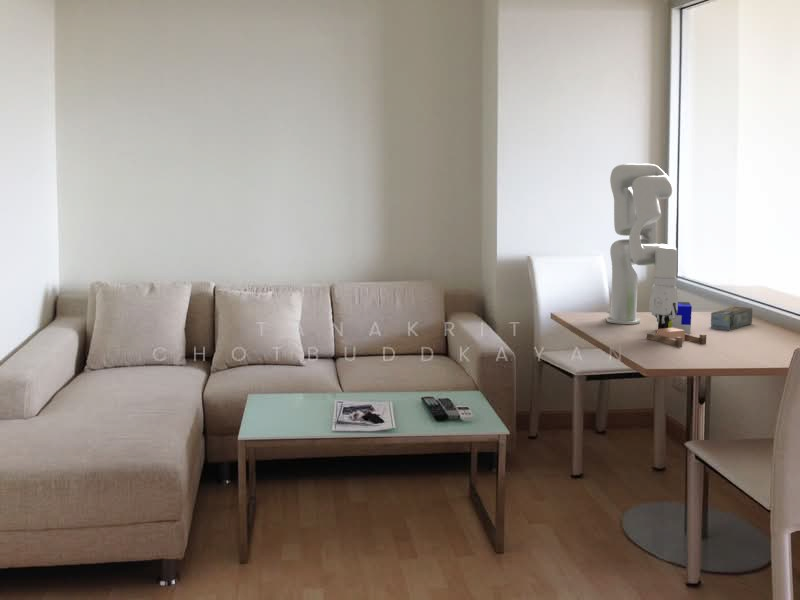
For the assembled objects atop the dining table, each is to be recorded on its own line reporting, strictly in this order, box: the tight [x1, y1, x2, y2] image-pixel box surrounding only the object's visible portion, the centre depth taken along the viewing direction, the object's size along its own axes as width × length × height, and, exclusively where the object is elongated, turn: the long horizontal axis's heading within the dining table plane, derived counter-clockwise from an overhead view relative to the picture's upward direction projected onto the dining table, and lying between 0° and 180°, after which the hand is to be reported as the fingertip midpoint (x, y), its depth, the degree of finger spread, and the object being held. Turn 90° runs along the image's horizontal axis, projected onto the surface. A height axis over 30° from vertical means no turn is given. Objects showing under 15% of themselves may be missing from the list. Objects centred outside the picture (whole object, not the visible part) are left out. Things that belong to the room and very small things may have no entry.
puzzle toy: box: [668, 301, 693, 335], centre depth 350 cm, size 10×10×10 cm
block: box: [656, 327, 685, 342], centre depth 332 cm, size 6×7×4 cm
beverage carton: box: [710, 305, 753, 331], centre depth 361 cm, size 8×19×7 cm, turn 135°
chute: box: [646, 332, 707, 348], centre depth 331 cm, size 16×12×3 cm
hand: (662, 333), depth 337 cm, fingers closed
